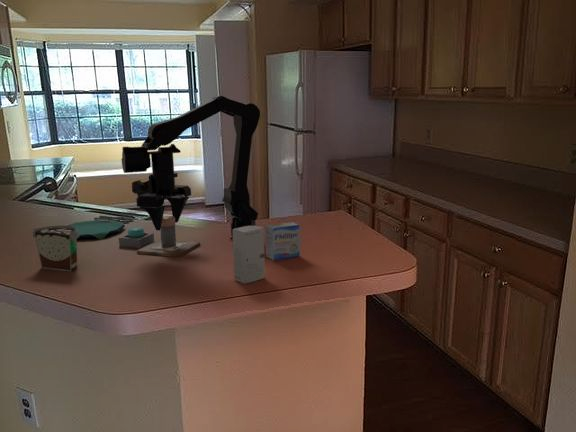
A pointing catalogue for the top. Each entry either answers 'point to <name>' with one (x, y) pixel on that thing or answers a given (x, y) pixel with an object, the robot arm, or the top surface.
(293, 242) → the medicine box
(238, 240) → the skincare box
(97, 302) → the top surface
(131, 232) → the button
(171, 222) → the pink and grey capsule
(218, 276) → the top surface
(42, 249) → the food container
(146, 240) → the button housing
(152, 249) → the drawing board
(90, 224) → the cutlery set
